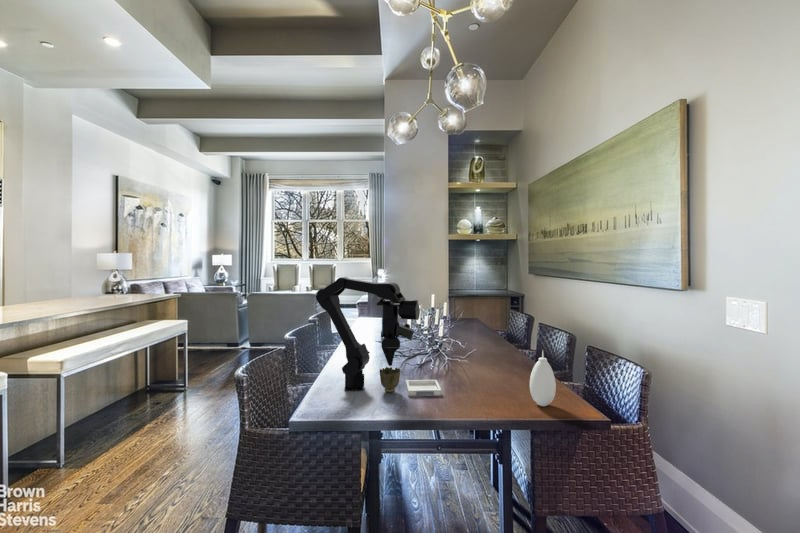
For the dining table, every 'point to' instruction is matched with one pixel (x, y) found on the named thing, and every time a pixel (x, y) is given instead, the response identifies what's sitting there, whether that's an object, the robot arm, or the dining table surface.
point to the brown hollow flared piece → (389, 378)
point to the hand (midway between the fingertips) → (389, 362)
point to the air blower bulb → (542, 382)
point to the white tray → (423, 388)
